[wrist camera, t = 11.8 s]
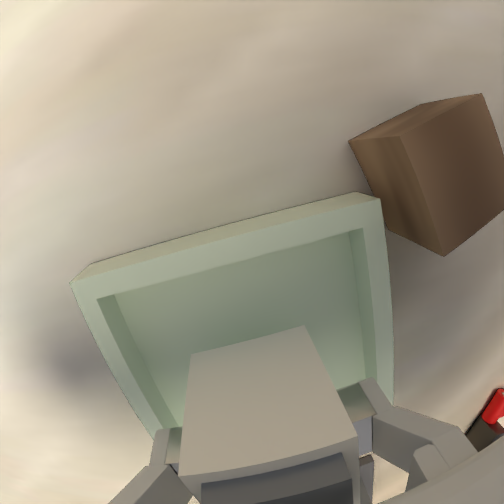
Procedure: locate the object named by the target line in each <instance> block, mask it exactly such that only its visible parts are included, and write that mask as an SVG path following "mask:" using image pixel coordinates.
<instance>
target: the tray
mask: <svg viewBox="0 0 504 504" xmlns="http://www.w3.org/2000/svg"><path fill="white" fill-rule="evenodd" d="M69 284H70V286H71V289H72V291H73V293H74V296H75V298H76V300H77V303H78V305H79V307H80V310H81V312H82V314H83V316H84V318H85V321H86V323H87V325H88V327H89V329H90V331H91V333H92V335H93V337H94V339H95V341H96V343H97V345H98V347H99V349H100V351H101V353H102V355H103V357H104V359H105V361H106V363H107V365H108V367H109V368H110V370H111V372H112V374H113V376H114V377H115V379H116V381H117V383H118V385H119V386H120V388H121V390H122V391H123V393H124V395H125V397H126V398H127V400H128V402H129V403H130V405H131V406H132V408H133V410H134V411H135V413H136V415H137V416H138V418H139V419H140V421H141V422H142V424H143V425H144V427H145V428H146V430H147V432H148V433H149V434H150V436H151V437H152V439H153V440H154V436H155V432H156V431H157V430H158V429H168V428H174V427H182V426H183V418H184V408H185V399H186V391H187V382H188V374H189V366H190V358H191V354H194V353H198V352H203V351H207V350H211V349H216V348H220V347H224V346H228V345H232V344H236V343H240V342H244V341H248V340H252V339H255V338H259V337H263V336H267V335H270V334H274V333H278V332H281V331H285V330H288V329H292V328H295V327H299V326H302V325H305V327H306V329H307V331H308V333H309V335H310V337H311V339H312V342H313V344H314V346H315V348H316V350H317V352H318V354H319V356H320V358H321V360H322V362H323V364H324V366H325V368H326V370H327V372H328V374H329V376H330V378H331V381H332V383H333V385H334V387H335V389H336V390H337V389H340V388H343V387H345V386H348V385H351V384H354V383H357V382H359V381H362V380H364V379H367V378H370V377H373V378H374V379H375V381H376V382H377V384H378V385H379V387H380V388H381V390H382V391H383V393H384V394H385V396H386V397H387V399H388V400H389V402H390V403H391V405H392V406H393V396H394V341H393V316H392V299H391V285H390V273H389V263H388V253H387V245H386V236H385V229H384V221H383V214H382V208H381V201H380V198H376V197H373V196H369V195H366V194H362V193H358V192H353V193H349V194H345V195H340V196H336V197H332V198H328V199H324V200H320V201H316V202H312V203H308V204H304V205H300V206H296V207H292V208H288V209H284V210H280V211H276V212H273V213H269V214H265V215H261V216H257V217H253V218H250V219H246V220H242V221H238V222H235V223H231V224H227V225H224V226H220V227H216V228H213V229H209V230H205V231H202V232H198V233H195V234H191V235H187V236H184V237H180V238H177V239H173V240H170V241H166V242H163V243H159V244H156V245H153V246H149V247H146V248H142V249H139V250H135V251H132V252H129V253H125V254H122V255H119V256H115V257H112V258H109V259H105V260H102V261H99V262H96V263H92V264H90V265H89V266H88V267H86V268H85V269H84V270H83V271H82V272H81V273H80V274H79V275H77V276H76V277H75V278H74V279H73V280H72V281H71V282H70V283H69Z"/></svg>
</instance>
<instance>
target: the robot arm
mask: <svg viewBox="0 0 504 504" xmlns="http://www.w3.org/2000/svg"><path fill="white" fill-rule="evenodd" d="M336 391H337V393H338V395H339V397H340V399H341V401H342V403H343V405H344V408H345V410H346V412H347V414H348V416H349V418H350V420H351V422H352V424H353V426H354V428H355V431H356V433H357V435H358V445H359V456H360V455H363V454H366V453H369V452H372V451H373V453H375V454H376V455H378V456H380V457H381V458H383V459H385V460H387V461H388V462H390V463H392V464H394V465H395V466H397V467H399V468H401V469H403V470H404V471H406V472H408V473H409V477H408V482H407V486H406V490H405V492H404V493H402V494H400V495H397V496H395V497H392V498H390V499H388V500H385V501H383V502H380V503H378V504H504V435H503V436H502V437H501V438H499V439H498V440H496V441H495V442H493V443H492V444H491V445H489V446H488V447H486V448H485V449H483V450H481V451H480V452H477V450H476V449H475V448H474V446H473V445H472V444H471V442H470V441H469V440H468V439H467V437H466V436H465V435H464V433H463V432H462V431H461V430H460V428H459V427H457V426H454V425H451V424H448V423H445V422H442V421H439V420H436V419H433V418H430V417H427V416H424V415H421V414H418V413H415V412H413V411H410V410H407V409H404V408H402V407H399V406H397V407H394V408H393V406H392V405H391V403H390V402H389V400H388V399H387V397H386V396H385V394H384V393H383V391H382V390H381V388H380V387H379V385H378V384H377V382H376V381H375V379H374V378H373V377H370V378H367V379H364V380H362V381H359V382H357V383H354V384H351V385H348V386H345V387H343V388H340V389H337V390H336ZM182 427H183V426H182ZM182 427H174V428H168V429H158V430H157V431H156V432H155V436H154V442H153V447H152V453H151V458H150V464H149V466H145V467H144V468H143V469H142V470H141V471H140V472H139V473H138V474H137V475H136V476H135V477H134V478H133V479H132V480H131V481H130V482H129V483H128V484H127V485H126V486H125V487H124V488H123V489H122V490H121V491H120V492H119V493H118V494H117V495H116V496H115V497H114V498H113V499H112V500H111V501H110V502H109V503H108V504H188V502H189V501H190V499H191V497H192V496H193V494H192V493H191V492H190V491H189V489H188V488H187V487H186V486H185V485H184V483H183V482H182V481H181V480H180V478H179V477H178V470H179V458H180V447H181V437H182Z"/></svg>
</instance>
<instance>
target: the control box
mask: <svg viewBox="0 0 504 504" xmlns="http://www.w3.org/2000/svg"><path fill="white" fill-rule="evenodd" d="M359 468H360V504H372V494H373V475H374V460H373V458H372V456H371V455H369V456H366V457H364V458H361V459H359Z"/></svg>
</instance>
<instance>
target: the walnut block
mask: <svg viewBox="0 0 504 504" xmlns="http://www.w3.org/2000/svg"><path fill="white" fill-rule="evenodd" d="M348 142H349V144H350V146H351V148H352V150H353V152H354V154H355V156H356V158H357V160H358V162H359V164H360V166H361V168H362V171H363V173H364V175H365V177H366V179H367V181H368V183H369V186H370V188H371V190H372V192H373V194H374V197H376V198H380V201H381V208H382V214H383V218H384V220H385V222H386V225H387V227H388V230H390V231H392V232H394V233H396V234H399V235H401V236H403V237H405V238H407V239H409V240H411V241H413V242H415V243H417V244H419V245H421V246H423V247H425V248H427V249H429V250H431V251H433V252H435V253H437V254H439V255H441V256H443V257H444V256H446V255H447V254H448V253H450V252H451V251H453V250H454V249H455V248H457V247H458V246H459V245H461V244H462V243H463V242H464V241H466V240H467V239H468V238H470V237H471V236H472V235H473V234H475V233H476V232H477V231H479V230H480V229H481V228H482V227H484V226H485V225H486V224H487V223H489V222H490V221H491V220H492V219H493V218H495V217H496V216H497V215H498V214H499V213H501V212H502V211H503V210H504V155H503V152H502V148H501V145H500V142H499V139H498V136H497V133H496V130H495V127H494V124H493V121H492V118H491V115H490V113H489V110H488V107H487V105H486V102H485V100H484V97H483V95H482V93H480V94H474V95H467V96H461V97H456V98H450V99H444V100H439V101H434V102H429V103H424V104H420V105H418V106H416V107H414V108H412V109H410V110H408V111H406V112H404V113H402V114H400V115H398V116H396V117H394V118H392V119H390V120H388V121H386V122H384V123H382V124H380V125H378V126H376V127H374V128H372V129H370V130H368V131H366V132H364V133H363V134H361V135H359V136H357V137H355V138H353V139H351V140H349V141H348Z"/></svg>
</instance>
